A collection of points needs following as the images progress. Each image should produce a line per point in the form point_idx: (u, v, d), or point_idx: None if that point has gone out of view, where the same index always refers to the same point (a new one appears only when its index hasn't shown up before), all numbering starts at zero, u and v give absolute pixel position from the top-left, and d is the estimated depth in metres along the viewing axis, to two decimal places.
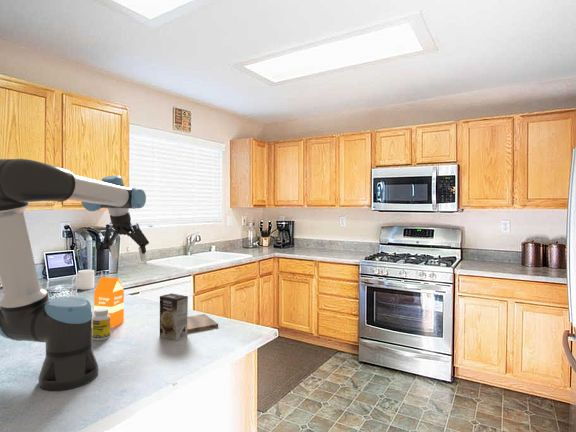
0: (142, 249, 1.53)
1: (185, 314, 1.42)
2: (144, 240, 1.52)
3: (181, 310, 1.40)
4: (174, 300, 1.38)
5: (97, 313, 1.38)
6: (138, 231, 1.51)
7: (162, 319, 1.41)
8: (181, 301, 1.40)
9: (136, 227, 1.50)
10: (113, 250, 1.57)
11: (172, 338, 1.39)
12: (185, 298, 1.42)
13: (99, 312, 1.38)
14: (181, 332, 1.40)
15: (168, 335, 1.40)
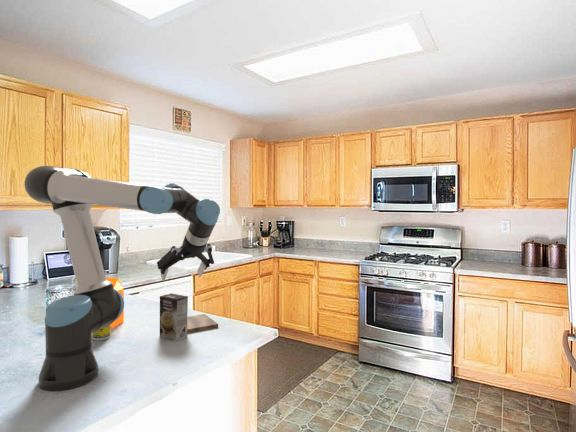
0: None
1: (185, 314, 1.42)
2: (160, 261, 1.23)
3: (181, 310, 1.40)
4: (174, 300, 1.38)
5: None
6: (169, 253, 1.22)
7: (162, 319, 1.41)
8: (181, 301, 1.40)
9: (171, 249, 1.21)
10: (200, 266, 1.35)
11: (172, 338, 1.39)
12: (185, 298, 1.42)
13: None
14: (181, 332, 1.40)
15: (168, 335, 1.40)
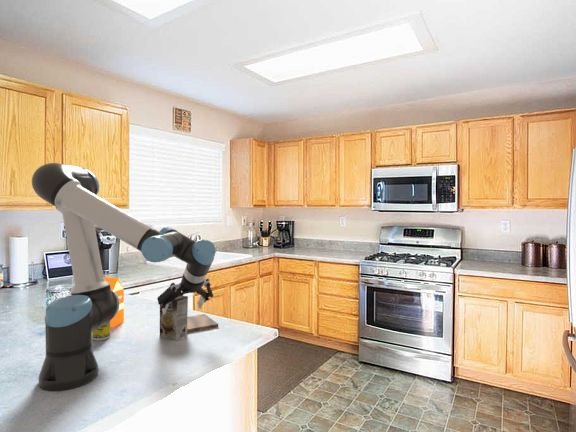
0: None
1: (185, 314, 1.42)
2: (160, 296, 1.28)
3: (181, 310, 1.40)
4: (174, 300, 1.38)
5: None
6: (168, 289, 1.27)
7: (162, 319, 1.41)
8: (181, 301, 1.40)
9: (170, 286, 1.26)
10: (200, 299, 1.40)
11: (172, 338, 1.39)
12: (185, 298, 1.42)
13: None
14: (181, 332, 1.40)
15: (168, 335, 1.40)
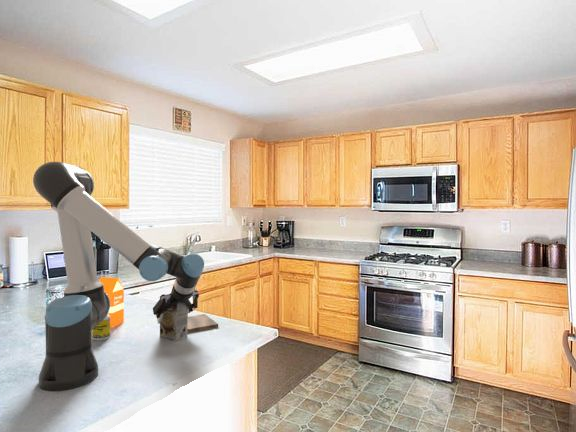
0: None
1: (185, 314, 1.42)
2: (154, 307, 1.35)
3: (181, 309, 1.40)
4: None
5: None
6: (160, 301, 1.33)
7: (162, 319, 1.41)
8: None
9: (161, 298, 1.32)
10: None
11: (172, 338, 1.39)
12: None
13: None
14: (181, 332, 1.40)
15: (168, 335, 1.40)
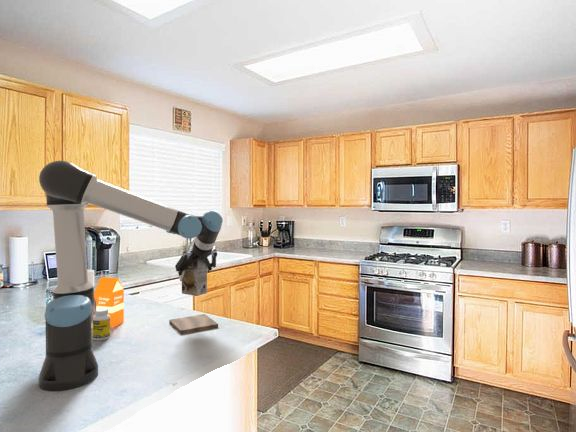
0: None
1: (205, 272, 1.53)
2: (177, 264, 1.47)
3: (201, 267, 1.51)
4: None
5: (97, 313, 1.38)
6: (182, 257, 1.45)
7: (183, 277, 1.53)
8: (201, 260, 1.51)
9: (183, 254, 1.44)
10: None
11: (193, 293, 1.50)
12: None
13: (99, 312, 1.38)
14: (201, 289, 1.52)
15: (189, 291, 1.51)
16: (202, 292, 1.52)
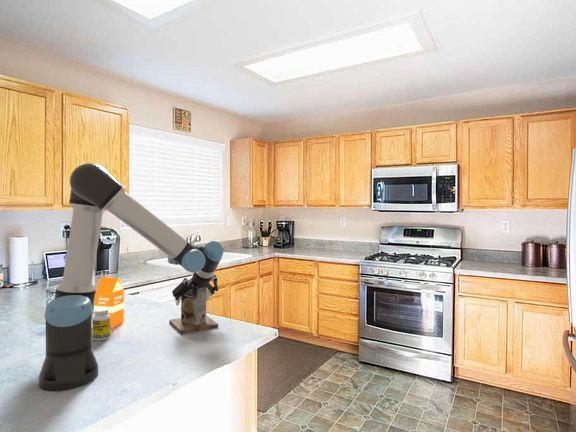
0: None
1: (204, 301, 1.55)
2: (175, 290, 1.48)
3: (201, 297, 1.53)
4: (194, 288, 1.51)
5: (97, 313, 1.38)
6: (181, 284, 1.46)
7: (183, 306, 1.55)
8: (200, 289, 1.53)
9: (183, 281, 1.45)
10: (207, 292, 1.59)
11: (193, 323, 1.52)
12: (204, 286, 1.55)
13: (99, 312, 1.38)
14: (201, 318, 1.54)
15: (188, 320, 1.53)
16: (201, 321, 1.54)
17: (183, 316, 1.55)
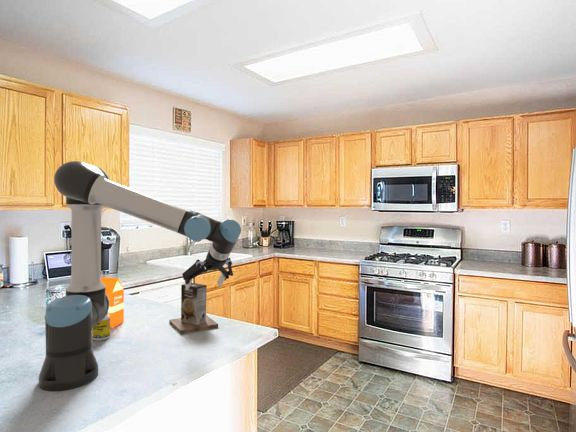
0: None
1: (204, 301, 1.55)
2: (185, 272, 1.36)
3: (201, 297, 1.53)
4: (194, 288, 1.51)
5: None
6: (193, 266, 1.35)
7: (183, 306, 1.55)
8: (201, 289, 1.53)
9: (196, 263, 1.34)
10: (220, 277, 1.48)
11: (193, 323, 1.52)
12: (204, 286, 1.55)
13: None
14: (201, 318, 1.54)
15: (188, 320, 1.53)
16: (201, 321, 1.54)
17: (183, 316, 1.55)
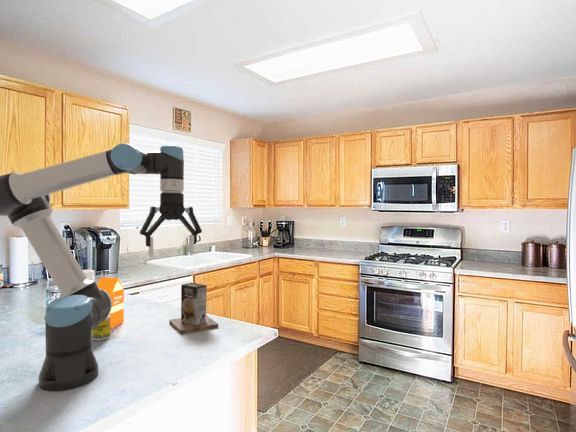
0: None
1: (204, 301, 1.55)
2: (142, 227, 1.18)
3: (201, 297, 1.53)
4: (194, 288, 1.51)
5: None
6: (148, 215, 1.19)
7: (183, 306, 1.55)
8: (201, 289, 1.53)
9: (150, 209, 1.20)
10: (190, 241, 1.27)
11: (193, 323, 1.52)
12: (204, 286, 1.55)
13: None
14: (201, 318, 1.54)
15: (188, 320, 1.53)
16: (201, 321, 1.54)
17: (183, 316, 1.55)
